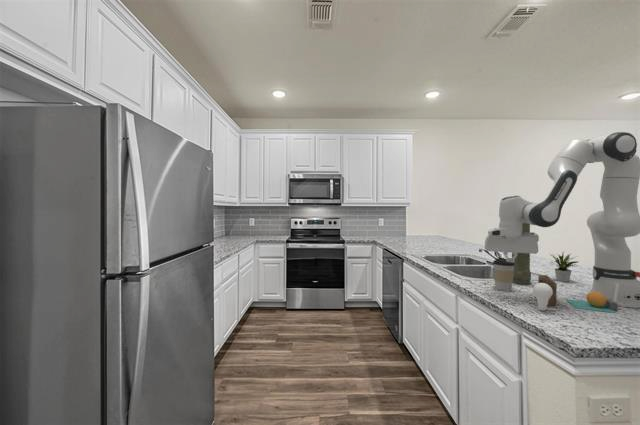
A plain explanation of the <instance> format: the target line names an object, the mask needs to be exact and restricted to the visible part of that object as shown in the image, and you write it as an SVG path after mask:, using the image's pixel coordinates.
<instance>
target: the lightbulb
mask: <svg viewBox="0 0 640 425" xmlns="http://www.w3.org/2000/svg"><path fill="white" fill-rule="evenodd" d="M532 290H533V291H532V292H533V294H534V295H535V297H536V299H537V304H538V309H539V310H540V311H543V312H544V311H546V310H547V307H548V306H547V305H548V300H549V298H550V297H551V296H552V294H553V291H552V288H551V287H550V286H549V285H548V284H545V283H536V284H534V285H533V288H532Z"/></svg>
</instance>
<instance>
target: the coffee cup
mask: <svg viewBox="0 0 640 425" xmlns="http://www.w3.org/2000/svg"><path fill="white" fill-rule="evenodd" d="M492 265H493V276H494V277H493V278H494V288H495V289H496V290H498V291H502V290H503V292H511V291H512V290H513V283H512V282H513V275H514V263H512V262H506V258H504V257H497V258H495V259H494V260H493V261H492Z"/></svg>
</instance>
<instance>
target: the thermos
mask: <svg viewBox="0 0 640 425" xmlns="http://www.w3.org/2000/svg"><path fill="white" fill-rule="evenodd" d="M522 232H529V233H531V224H526V223H523V224H522ZM513 256H514V255H513V253H512V252H511V258H512V257H513ZM530 263H531V253H517V257H516V258H515V259H514V275H513V282H512V284H514V283H515V284H514V285H520V286H530V285H531V280H532V272H531V264H530Z"/></svg>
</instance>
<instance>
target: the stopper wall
mask: <svg viewBox="0 0 640 425" xmlns="http://www.w3.org/2000/svg"><path fill="white" fill-rule="evenodd" d="M604 306H606V307H607V308H609V309H610V310H613V311H614V312H618V306H617V303H616V302H614V301H613V300H611V299H607V302H606V304H605V305H604Z"/></svg>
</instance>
